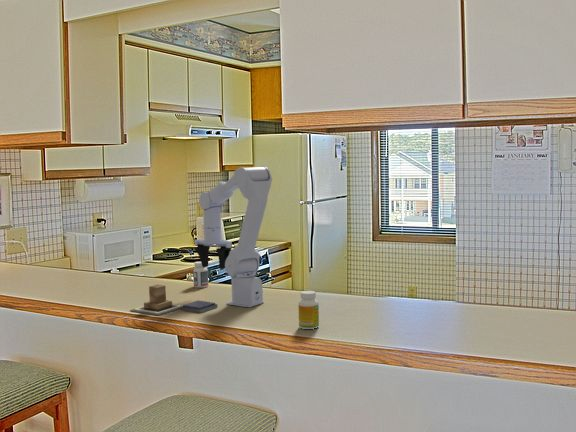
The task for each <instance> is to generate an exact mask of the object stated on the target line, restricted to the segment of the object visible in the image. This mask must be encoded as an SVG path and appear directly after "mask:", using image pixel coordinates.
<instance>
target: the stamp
mask: <svg viewBox="0 0 576 432" xmlns="http://www.w3.org/2000/svg"><path fill="white" fill-rule="evenodd" d="M148 294H149V295H148V296H149V301H146V302H145V301H144V303H143V306H144V309H146V310H152V311H162V310H165V309H168V308H172V304H173V301H172V300H167V293H166V285H164V284H153V285H150V286H148Z"/></svg>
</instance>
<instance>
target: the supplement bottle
mask: <svg viewBox="0 0 576 432" xmlns="http://www.w3.org/2000/svg"><path fill="white" fill-rule="evenodd" d="M316 295H317V294H316V291H314V290H303V291H301V292H300V298H301V299H299V300H298V328H299V327H300V328H299V329H301V328H302V329H301V330H304V329H313V328H316V327H318V326H319V327H320V321H319V320H320V318H319V317H320V316H319V313H320V312H319V301H318V299H316ZM319 327H318V328H319ZM313 330H314V329H313Z"/></svg>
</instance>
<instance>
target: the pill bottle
mask: <svg viewBox="0 0 576 432" xmlns="http://www.w3.org/2000/svg"><path fill="white" fill-rule="evenodd" d="M194 267H195V268H193V270H192V271H193V272H192V273H193V275H192V278H193V287H194V288H197V289H201V288H207V287H208V286H209V270H208V268H207V267H202V263H201V260H200V261H195V262H194Z"/></svg>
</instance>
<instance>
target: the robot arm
mask: <svg viewBox="0 0 576 432" xmlns="http://www.w3.org/2000/svg"><path fill="white" fill-rule="evenodd" d="M272 182H273V177H272V174H271V172H270V170H269V168H268V167H267V166H254V167H252V166H251V167H243V166H240V167H238V168H237V169H235V170H234V171H233V175H232V176H231V177H230V178H229V179H228V180H227V181H226V182H225V181H218V182H217V184H216V185H215V186H214V187H211V188H210V190H209V191H201V193H200V195H199V199H198V200H199V201H198V202H199V203H198V204H199V206H200V208H201V209H202V210H203V211H202V212H203V214H202V215H203V237H204V238H203V239H202V238H200V239H195V240H194V246H196V247H194V250H195V251H196V253H197V255H198V257H199V259H200V261H201V263H202V267H206V268H207V267H209V252H210V248H211V247H217V248H216V252H217V256H218V266H219V269H220V270H225V272H226V273H227V275H228V276H229V277H230V278H231V279H230V280H231V281H230V282H231V301H227V302H226V305H229V306H230V305H231V306H237V307H243V308H253V307H255V306H257V305H260V304H264V303H265V300H264V298H263V297H264V296H263V291H264V290H263V282H262V279H261V278H260V277H257V276H256V275H257V272H258V271H259V269H260V257H261V254H260V253H259V251H258V250H257V249H256V245H257V241H258V237H259V233H260V229H261V226H262V222H263V218H264V214H265V211H266V208H267V203H268V196H269V194H270V189H271V185H272ZM237 189H239V192H240V193H241V194H242V196H243V198H245V199H246V200H247V201H248V202H247V206H246V211H245V214H244V218H243V222H242V226H241V230H240V235H239V238H238V241H237V242H238V243H237V245H236V246H235V247H233V244H232V241H229V240H224V239H222V223H221V222H222V218H221V216H222V215H221V214H222V213H223V206H224V203H225V202H226V201H227V200H229V199H230V198H231V197H232V196H233V194H234V191H236V190H237ZM232 247H233V248H232Z"/></svg>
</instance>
